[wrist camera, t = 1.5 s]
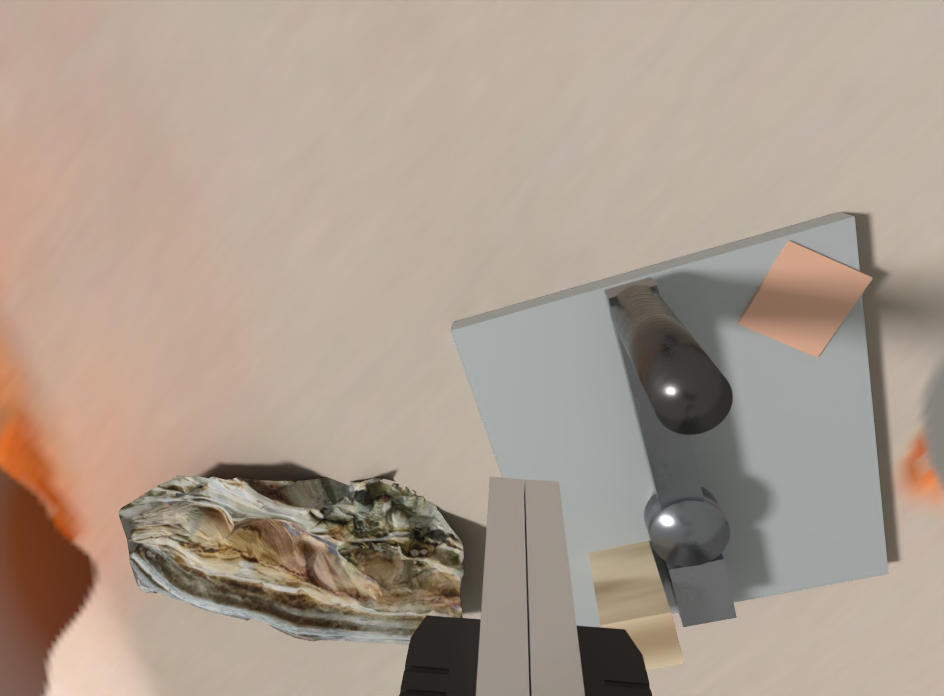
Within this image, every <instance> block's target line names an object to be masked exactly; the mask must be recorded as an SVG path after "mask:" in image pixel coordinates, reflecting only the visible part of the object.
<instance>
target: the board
mask: <svg viewBox="0 0 944 696" xmlns="http://www.w3.org/2000/svg"><path fill="white" fill-rule="evenodd" d="M788 241H791V242H793V243H795V244H798V245H800V246H802V247H804V248H807V249H809V250H811V251H813V252H816V253H818V254H820V255H822V256H825V257H827V258H829V259H832V260H834V261H836V262H838V263H841V264H843V265H845V266H847V267H850V268H852V269H854V270H857V271H859V272H860V267H859V256H858V246H857V235H856V225H855V216H852V215H848V214H845V213H842V212H838V213H834V214H831V215H827V216H824V217H820V218H817V219H813V220H810V221H806V222H803V223H799V224H796V225H792V226H789V227H785V228H782V229H778V230H775V231H771V232H768V233H764V234H761V235H757V236H753V237H750V238H746V239H743V240H739V241H736V242H732V243H729V244H725V245H722V246H718V247H715V248H711V249H708V250H704V251H701V252H697V253H694V254H690V255H687V256H683V257H680V258H676V259H673V260H669V261H666V262H662V263H659V264H655V265H652V266H648V267H645V268H641V269H638V270H634V271H631V272H627V273H624V274H620V275H617V276H613V277H610V278H606V279H603V280H599V281H596V282H592V283H589V284H585V285H582V286H578V287H575V288H571V289H568V290H564V291H561V292H557V293H554V294H550V295H547V296H543V297H540V298H536V299H533V300H529V301H526V302H522V303H519V304H515V305H512V306H508V307H505V308H501V309H498V310H494V311H491V312H487V313H484V314H480V315H477V316H473V317H469V318H466V319H462V320H459V321H455V322H453V324H452V327H451V334H452V336H453V339H454V342H455V345H456V348H457V351H458V353H459V356H460V359H461V362H462V365H463V368H464V370H465V373H466V376H467V379H468V382H469V385H470V387H471V390H472V393H473V396H474V399H475V402H476V404H477V407H478V410H479V413H480V416H481V419H482V421H483V424H484V427H485V430H486V433H487V436H488V438H489V441H490V444H491V447H492V450H493V453H494V455H495V458H496V461H497V464H498V467H499V470H500V472H501V475H502V478H514V479H524V486H525V479H529V480H543V481H558V482H559V487H560V495H561V503H562V511H563V519H564V528H565V536H566V544H567V552H568V560H569V569H570V577H571V585H572V593H573V601H574V610H575V618H576V625H577V626H589V627H601V625H600V620H599V614H598V608H597V602H596V596H595V590H594V584H593V578H592V572H591V566H590V560H589V554H588V553H590V552H595V551H600V550H605V549H610V548H615V547H619V546H624V545H629V544H634V543H639V542H644V541H649V544H650V547H651V550H652V553H653V556H654V560H655V563H656V566H657V569H658V572H659V575H660V579H661V582H662V585H663V588H664V591H665V595H666V598H667V601H668V604H669V607H670V611H671V614H673V613H678V609H677V606H676V603H675V600H674V597H673V594H672V591H671V587H670V583H669V579H668V575H667V571H666V567H665V563H664V560H663V559H662V558H660V557H659V556H658V555H657V553H656V552H655V551H654V549H653V546H652V544H651V540H650V537H649V534H648V531H647V528H646V525H645V521H644V510H645V506H646V504H647V502H648V501H649V499H650V498H651V493H652V490H653V488H654V487H653V483H652V479H651V475H650V471H649V467H648V463H647V459H646V455H645V451H644V447H643V443H642V439H641V435H640V431H639V427H638V423H637V419H636V415H635V411H634V407H633V403H632V399H631V395H630V391H629V387H628V383H627V379H626V375H625V371H624V367H623V363H622V359H621V356H620V352H619V348H618V344H617V340H616V336H615V332H614V328H613V324H612V320H611V316H610V312H609V308H608V304H607V300H606V296H605V292H604V290H606V289H609V288H613V287H616V286H620V285H623V284H627V283H630V282H634V281H637V280H641V279H645V278H648V277H651V278H652V279H653V280H654V282H655V283H656V284H657V287H658V291H659V295H660V296H661V297H662V299H663V300H664V301H665V302H666V304H667V305H668V306H669V307H670V309H671V310H672V311H673V312H674V314H675V315H676V316H677V317H678V319H679V320H680V321H681V322H682V324H683V325H684V326H685V328H686V329H687V330H688V331H689V333H690V334H691V335H692V336H693V338H694V339H695V340H696V341H697V343H698V344H699V345H700V346H701V348H702V349H703V350H704V351H705V353H706V354H707V355H708V356H709V358H710V359H711V360H712V362H713V363H714V364H715V365H716V367H717V368H718V369H719V370H720V372H721V373H722V374H723V375H724V377H725V378H726V379H727V381H728V382H729V384H730V386H731V389H732V393H733V402H732V406H731V409H730V411H729V413H728V415H727V416H726V418H725V419H724V420H723V421H722V422H721V423H720V424H719V425H718V426H716V427H715V428H713V429H711V430H709V431H707V432H704V433H701V434H696V435H690V438H691V443H692V447H693V452H694V457H695V461H696V466H697V470H698V475H699V480H700V484H701V487H703V488H705V489H707V490H708V491H709V492H711V493H712V495H713V496H714V497H715V499H716V500H717V502H718V504H719V506H720V508H721V510H722V512H723V514H724V516H725V518H726V520H727V522H728V524H729V527H730V538H729V542H728V544H727V546H726V548H725V549H724V550H723V552H722V553H721V554H722V556H723V558H724V561H725V566H726V570H727V575H728V580H729V584H730V589H731V594H732V599H733V602H738V601H744V600H749V599H754V598H760V597H765V596H771V595H776V594H782V593H787V592H792V591H798V590H803V589H809V588H814V587H820V586H825V585H830V584H836V583H841V582H847V581H852V580H858V579H863V578H868V577H874V576H879V575H885V574H888V564H887V554H886V543H885V532H884V522H883V511H882V500H881V490H880V479H879V469H878V458H877V447H876V437H875V426H874V416H873V405H872V394H871V384H870V373H869V363H868V352H867V341H866V331H865V320H864V309H863V299H862V295H861V296H860V298H859V299H858V300H857V302H856V303H855V305H854V306H853V308H852V309H851V311H850V312H849V313H848V315H847V316H846V318H845V319H844V321H843V322H842V323H841V325H840V326H839V328H838V329H837V331H836V332H835V333H834V335H833V336H832V338H831V339H830V341H829V342H828V344H827V345H826V346H825V348H824V349H823V351H822V352H821V354H820V355H819V356H818V358H817V357H814V356H812V355H810V354H807V353H805V352H803V351H800V350H798V349H795V348H793V347H791V346H788V345H786V344H784V343H781V342H779V341H777V340H774V339H772V338H769V337H767V336H765V335H762V334H760V333H758V332H755V331H753V330H751V329H748V328H746V327H744V326H741V325H739V324H737V322H738V321H739V319H740V317H741V316H742V314H743V313H744V311H745V309H746V308H747V306H748V305H749V303H750V301H751V300H752V298H753V297H754V295H755V293H756V292H757V290H758V288H759V287H760V285H761V284H762V282H763V280H764V279H765V277H766V276H767V274H768V272H769V271H770V269H771V268H772V266H773V264H774V263H775V261H776V260H777V258H778V256H779V255H780V253H781V252H782V250H783V248H784V247H785V245H786V243H787V242H788Z"/></svg>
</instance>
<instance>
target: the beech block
mask: <svg viewBox="0 0 944 696" xmlns="http://www.w3.org/2000/svg"><path fill="white" fill-rule="evenodd" d="M588 554H589V560H590V566H591V572H592V578H593V584H594V590H595V596H596V602H597V608H598V614H599V620H600V625H601V627H602V628H614V629H625V630H626V632H627V633H628V634H629V636H630V637H631V639H632V640H633V642H634V643H635V645H636V646H637V648H638V649H639V650H640V652H641V653H642V655H643V659H644V663H645V667H646V670H649V669H655V668H661V667H667V666H672V665H678V664H684V660H683V656H682V652H681V648H680V645H679V641H678V637H677V633H676V629H675V625H674V622H673V618H672V614H671V611H670V607H669V604H668V601H667V598H666V595H665V591H664V588H663V585H662V582H661V579H660V575H659V572H658V569H657V566H656V563H655V560H654V556H653V553H652V550H651V547H650V544H649V541H644V542H639V543H634V544H629V545H624V546H619V547H615V548H610V549H605V550H600V551H595V552H590V553H588Z"/></svg>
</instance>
